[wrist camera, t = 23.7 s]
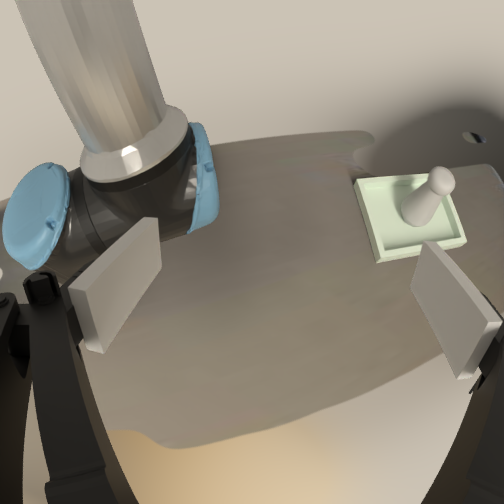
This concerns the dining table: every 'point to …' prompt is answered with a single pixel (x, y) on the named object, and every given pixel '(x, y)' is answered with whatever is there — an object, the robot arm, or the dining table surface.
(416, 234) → the tray
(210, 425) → the dining table surface
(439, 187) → the salt shaker
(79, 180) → the robot arm
